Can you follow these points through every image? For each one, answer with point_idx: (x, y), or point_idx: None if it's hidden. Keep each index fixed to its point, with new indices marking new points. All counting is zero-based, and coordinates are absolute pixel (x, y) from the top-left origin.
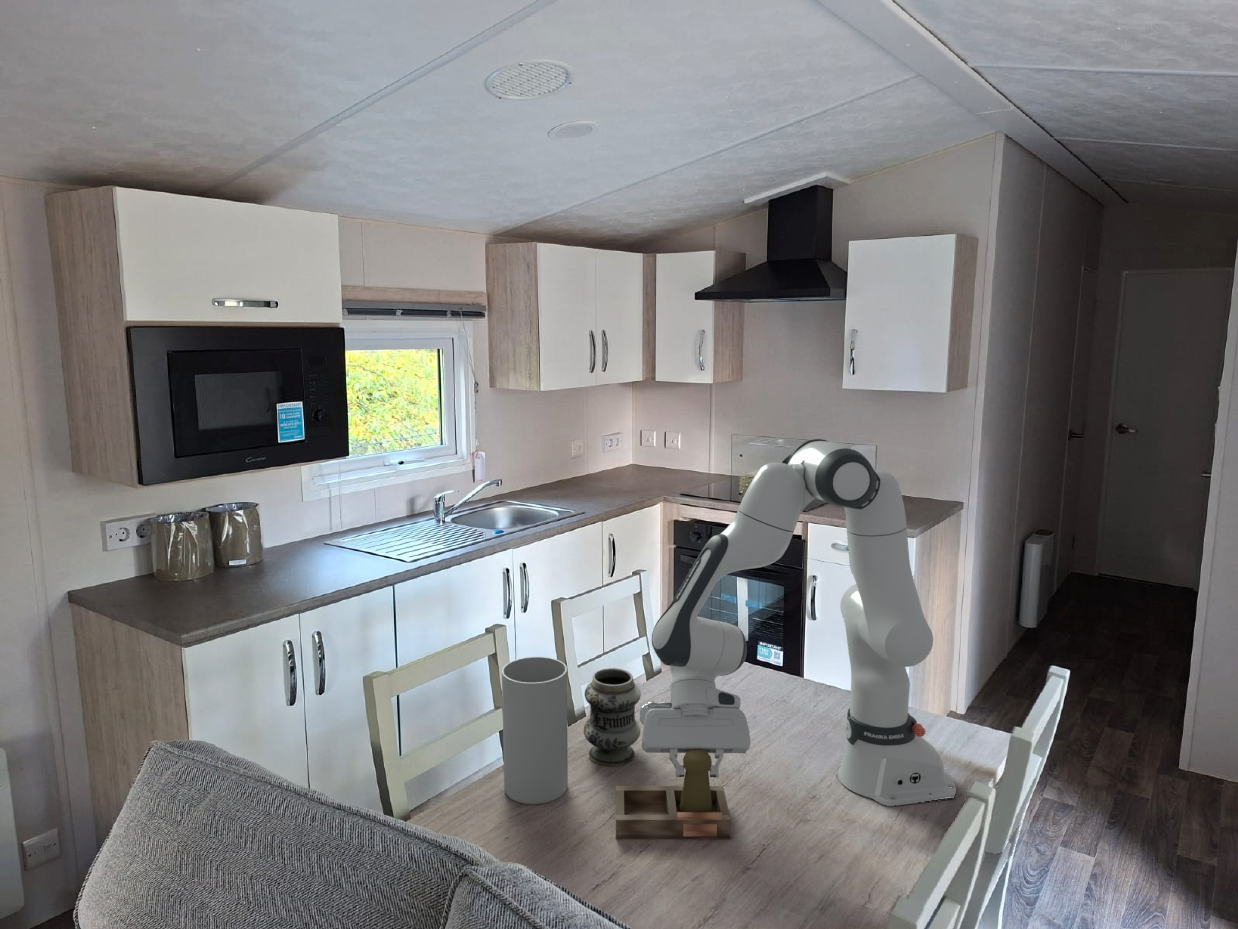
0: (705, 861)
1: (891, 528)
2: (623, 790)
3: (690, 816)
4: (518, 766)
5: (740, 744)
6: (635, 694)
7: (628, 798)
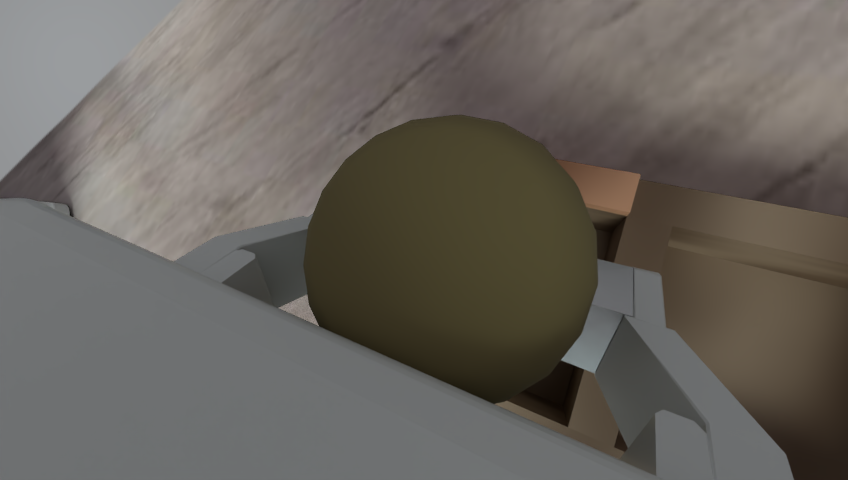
0: (558, 81)
1: None
2: None
3: (573, 166)
4: None
5: (11, 213)
6: None
7: None
